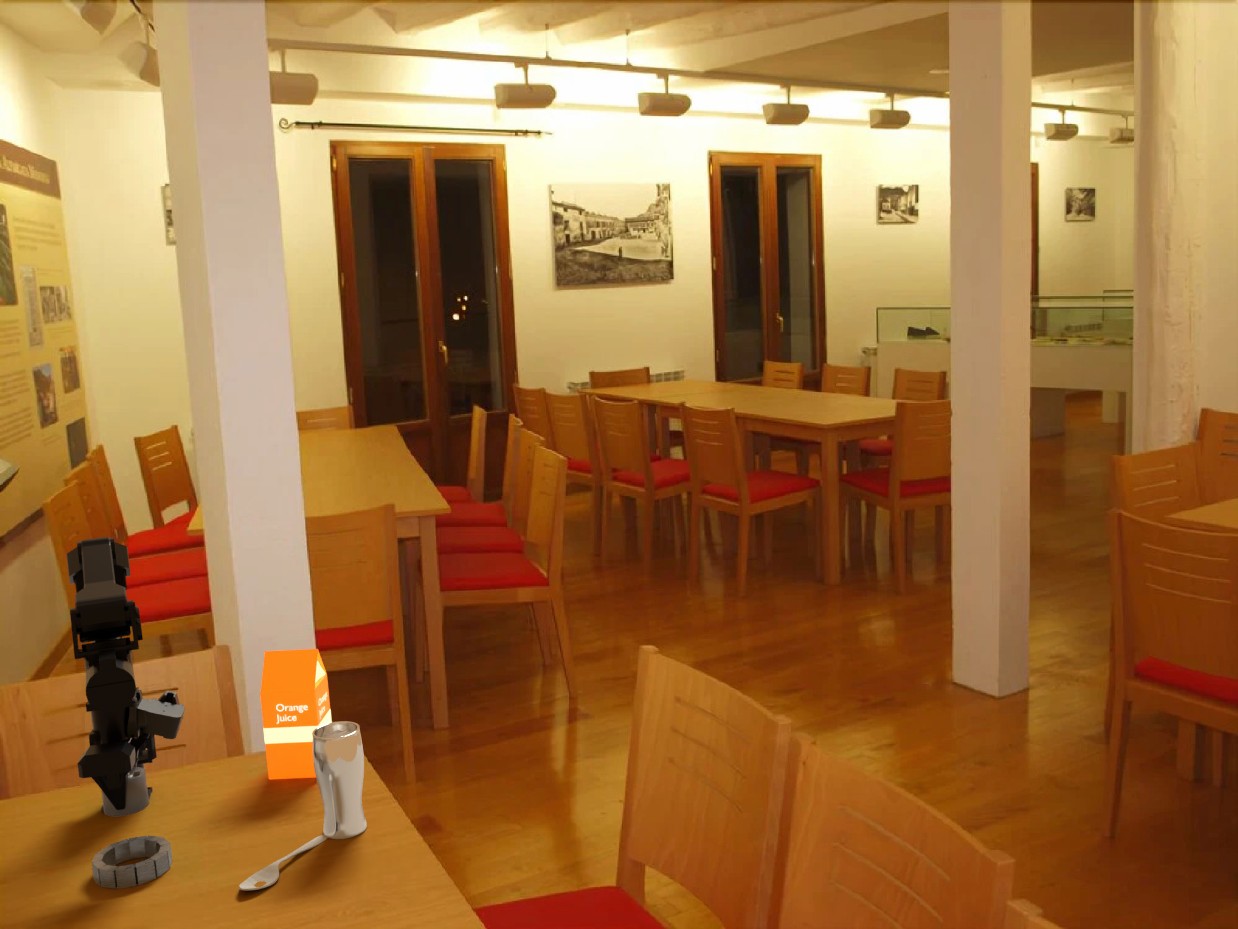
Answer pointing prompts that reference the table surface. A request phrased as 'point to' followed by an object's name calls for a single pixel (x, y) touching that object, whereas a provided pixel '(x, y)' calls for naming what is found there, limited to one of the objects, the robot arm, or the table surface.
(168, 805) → the table surface
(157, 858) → the segmented ring
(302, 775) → the orange juice
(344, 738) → the beer glass
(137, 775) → the cap
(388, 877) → the table surface
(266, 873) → the spoon
